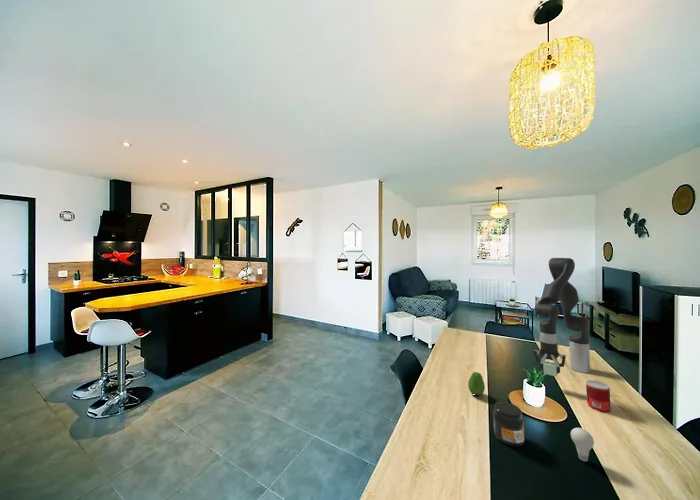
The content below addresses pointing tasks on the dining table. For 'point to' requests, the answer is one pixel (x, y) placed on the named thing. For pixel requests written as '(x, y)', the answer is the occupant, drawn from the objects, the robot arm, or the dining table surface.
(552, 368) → the sage block
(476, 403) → the dining table surface
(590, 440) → the lightbulb
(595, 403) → the canned food
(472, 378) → the avocado
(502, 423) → the supplement container
